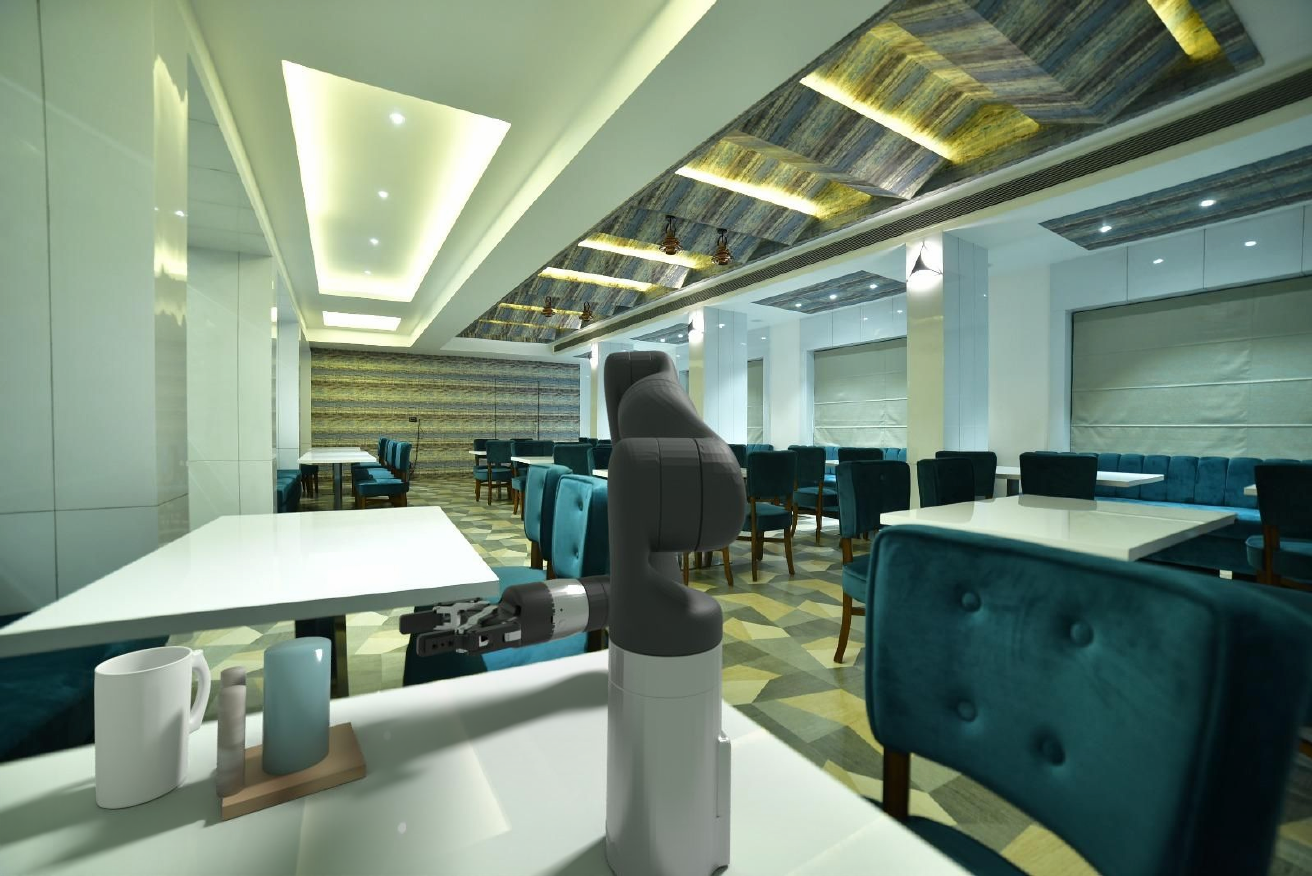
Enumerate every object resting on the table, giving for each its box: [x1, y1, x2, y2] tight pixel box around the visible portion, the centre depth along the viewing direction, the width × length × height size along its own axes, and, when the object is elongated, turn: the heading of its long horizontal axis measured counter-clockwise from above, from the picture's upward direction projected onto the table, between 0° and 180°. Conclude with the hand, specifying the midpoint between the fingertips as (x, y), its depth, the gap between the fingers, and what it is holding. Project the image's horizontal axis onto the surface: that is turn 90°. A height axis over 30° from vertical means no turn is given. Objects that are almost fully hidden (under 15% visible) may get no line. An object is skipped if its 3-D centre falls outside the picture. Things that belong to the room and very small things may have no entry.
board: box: [215, 665, 367, 822], centre depth 55 cm, size 12×10×10 cm
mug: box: [93, 645, 212, 810], centre depth 54 cm, size 10×7×12 cm, turn 174°
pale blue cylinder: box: [261, 636, 332, 775], centre depth 55 cm, size 6×6×11 cm
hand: (408, 635), depth 61 cm, fingers open, 8 cm apart
